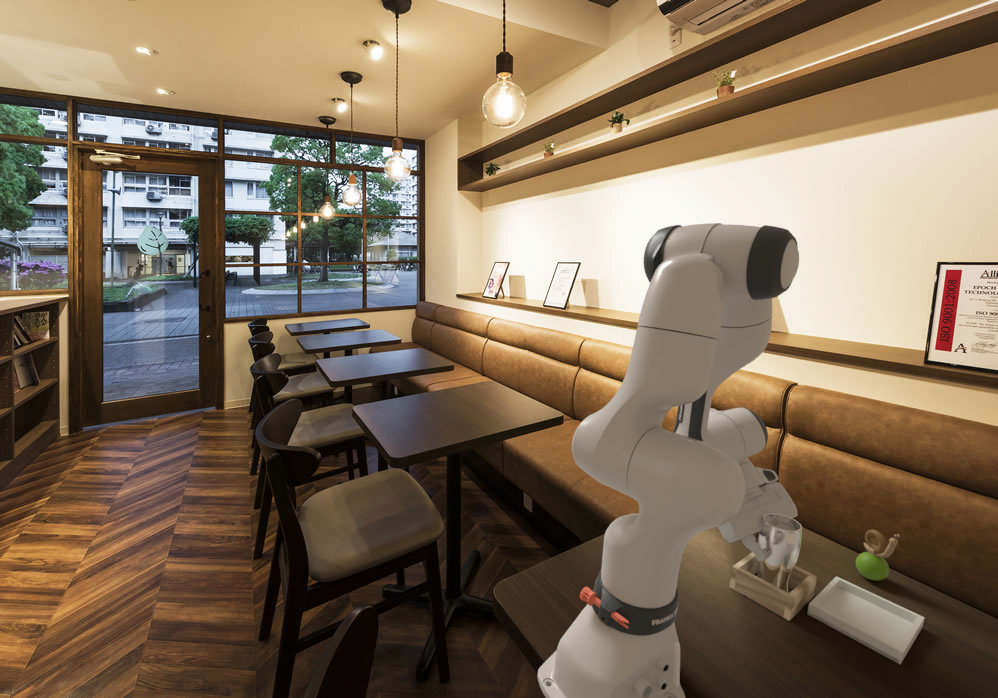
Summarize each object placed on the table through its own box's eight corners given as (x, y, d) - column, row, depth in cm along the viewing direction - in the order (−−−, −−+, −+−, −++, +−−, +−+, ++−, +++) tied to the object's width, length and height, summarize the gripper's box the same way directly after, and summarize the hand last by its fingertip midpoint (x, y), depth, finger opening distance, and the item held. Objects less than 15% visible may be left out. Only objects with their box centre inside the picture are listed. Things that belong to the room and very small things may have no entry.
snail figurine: (876, 591, 94) (887, 536, 92) (847, 570, 101) (857, 518, 98) (898, 588, 96) (909, 534, 93) (867, 568, 102) (878, 517, 100)
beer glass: (780, 582, 96) (792, 514, 93) (798, 606, 89) (811, 533, 87) (745, 578, 97) (755, 510, 94) (760, 602, 90) (771, 530, 87)
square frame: (789, 620, 85) (793, 598, 85) (729, 586, 94) (732, 566, 93) (813, 596, 92) (817, 576, 91) (755, 567, 101) (758, 547, 100)
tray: (900, 664, 77) (903, 652, 76) (807, 614, 87) (809, 603, 87) (922, 628, 85) (924, 617, 84) (834, 586, 95) (836, 576, 95)
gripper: (717, 489, 90) (759, 564, 84) (779, 469, 100) (821, 535, 94) (694, 500, 95) (733, 572, 88) (756, 480, 105) (795, 544, 98)
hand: (779, 553), depth 91 cm, fingers open, 8 cm apart
